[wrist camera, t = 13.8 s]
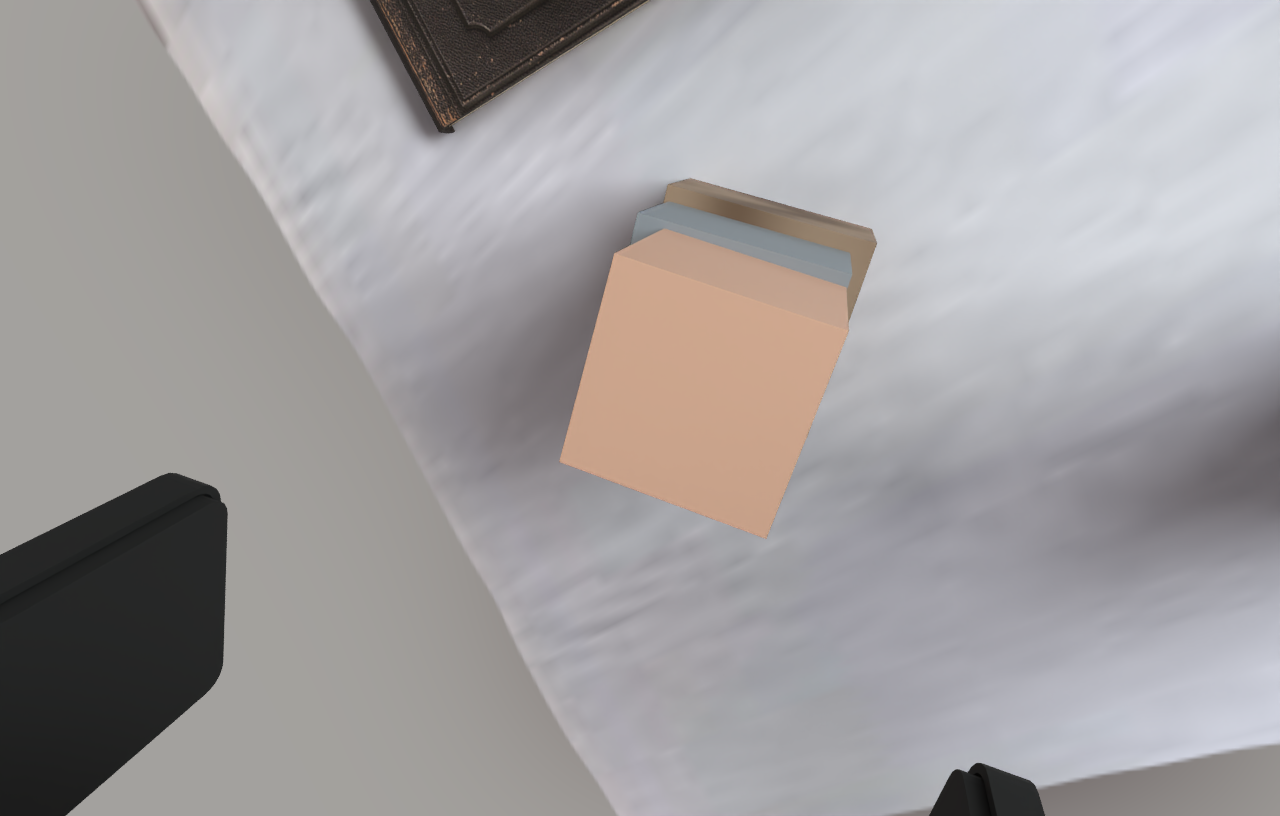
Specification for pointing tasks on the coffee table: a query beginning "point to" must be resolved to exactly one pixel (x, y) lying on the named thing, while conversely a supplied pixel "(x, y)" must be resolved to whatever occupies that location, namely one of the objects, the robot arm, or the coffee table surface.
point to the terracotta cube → (705, 377)
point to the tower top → (747, 241)
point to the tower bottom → (782, 223)
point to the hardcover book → (486, 44)
